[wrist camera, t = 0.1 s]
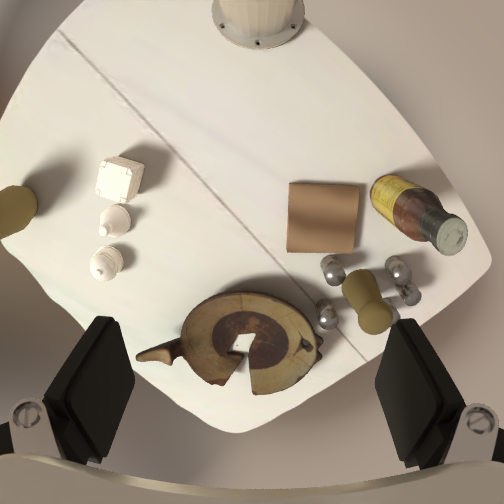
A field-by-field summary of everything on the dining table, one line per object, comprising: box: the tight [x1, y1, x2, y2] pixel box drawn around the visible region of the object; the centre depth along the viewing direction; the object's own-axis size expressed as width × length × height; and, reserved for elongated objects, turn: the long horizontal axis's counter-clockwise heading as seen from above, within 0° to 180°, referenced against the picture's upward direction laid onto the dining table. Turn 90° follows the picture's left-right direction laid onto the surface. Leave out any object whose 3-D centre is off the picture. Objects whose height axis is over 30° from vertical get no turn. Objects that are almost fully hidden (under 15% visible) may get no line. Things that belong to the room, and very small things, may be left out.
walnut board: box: [286, 183, 360, 253], centre depth 46 cm, size 10×10×2 cm
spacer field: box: [316, 255, 421, 330], centre depth 49 cm, size 11×17×4 cm, turn 90°
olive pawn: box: [342, 269, 393, 335], centre depth 46 cm, size 6×6×11 cm
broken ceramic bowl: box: [136, 290, 323, 395], centre depth 51 cm, size 22×30×8 cm
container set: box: [90, 156, 145, 281], centre depth 45 cm, size 20×5×6 cm, turn 160°
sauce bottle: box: [370, 175, 468, 256], centre depth 35 cm, size 7×6×20 cm
